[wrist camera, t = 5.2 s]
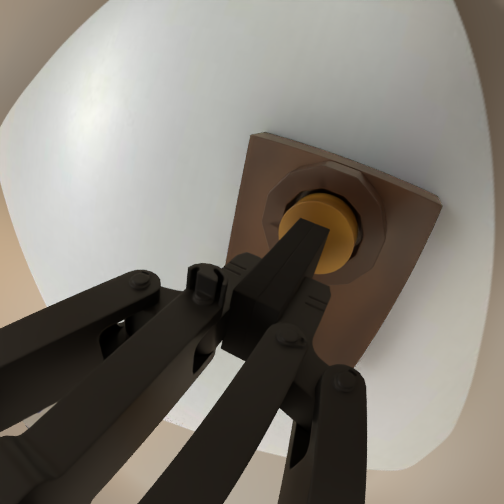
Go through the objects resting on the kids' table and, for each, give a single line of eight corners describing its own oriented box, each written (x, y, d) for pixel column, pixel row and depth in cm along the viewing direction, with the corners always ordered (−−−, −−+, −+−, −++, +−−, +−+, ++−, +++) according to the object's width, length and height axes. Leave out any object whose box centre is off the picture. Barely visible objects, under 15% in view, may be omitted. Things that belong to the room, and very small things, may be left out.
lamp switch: (368, 209, 15) (365, 219, 14) (343, 270, 17) (338, 285, 16) (299, 182, 16) (288, 189, 15) (281, 244, 18) (270, 256, 17)
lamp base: (438, 196, 16) (447, 215, 13) (352, 358, 24) (342, 393, 21) (264, 131, 20) (236, 136, 16) (228, 302, 27) (204, 327, 24)
